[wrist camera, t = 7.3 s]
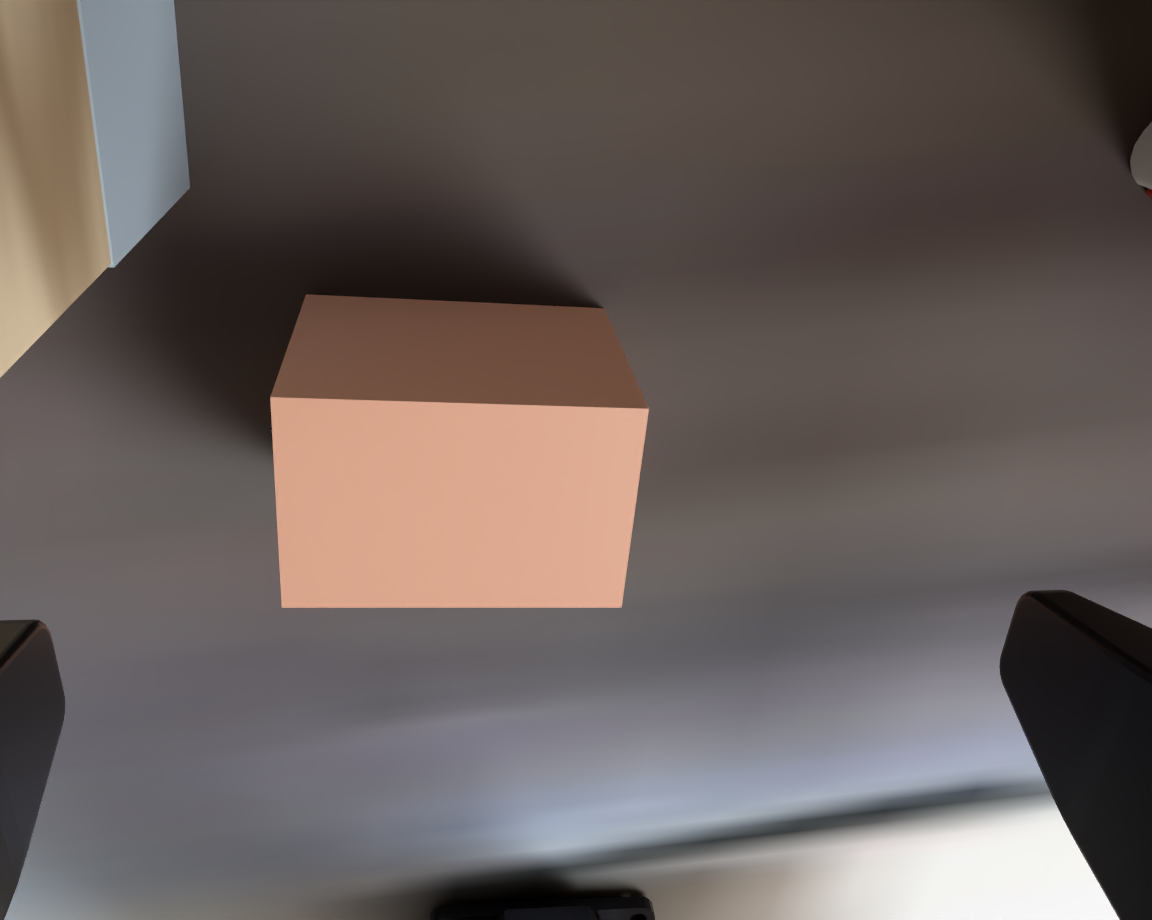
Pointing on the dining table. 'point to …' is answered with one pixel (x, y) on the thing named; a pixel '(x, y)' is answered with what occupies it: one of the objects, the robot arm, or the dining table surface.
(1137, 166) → the striped red arch
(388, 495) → the terracotta block
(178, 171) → the gray block
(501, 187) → the dining table surface
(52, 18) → the maple block
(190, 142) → the dining table surface
